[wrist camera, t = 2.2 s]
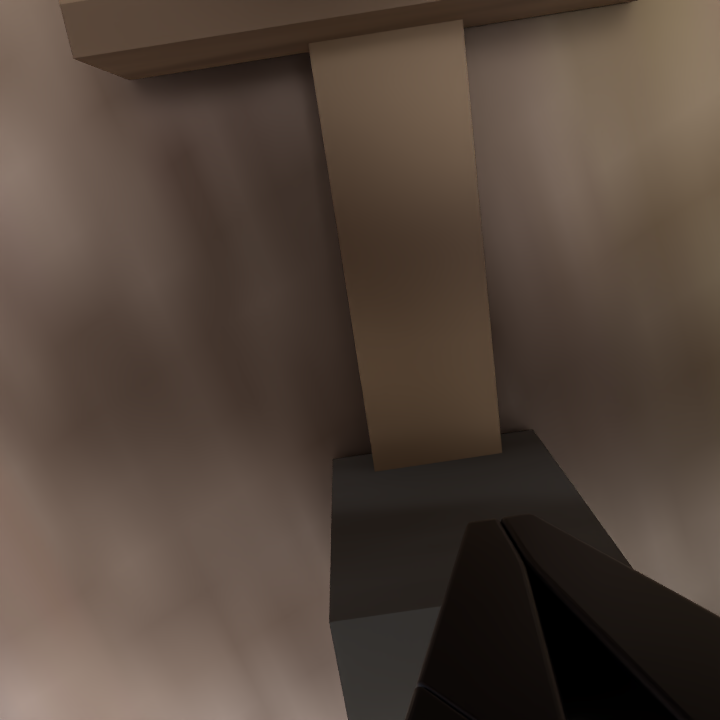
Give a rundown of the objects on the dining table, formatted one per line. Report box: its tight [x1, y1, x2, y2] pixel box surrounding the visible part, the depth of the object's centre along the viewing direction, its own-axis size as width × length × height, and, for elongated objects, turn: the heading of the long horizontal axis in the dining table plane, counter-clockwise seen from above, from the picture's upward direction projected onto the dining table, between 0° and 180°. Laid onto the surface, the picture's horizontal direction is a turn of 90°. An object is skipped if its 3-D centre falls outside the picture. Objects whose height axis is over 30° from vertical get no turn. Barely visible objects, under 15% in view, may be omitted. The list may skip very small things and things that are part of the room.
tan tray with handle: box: [59, 0, 637, 720], centre depth 11 cm, size 23×11×6 cm, turn 8°
